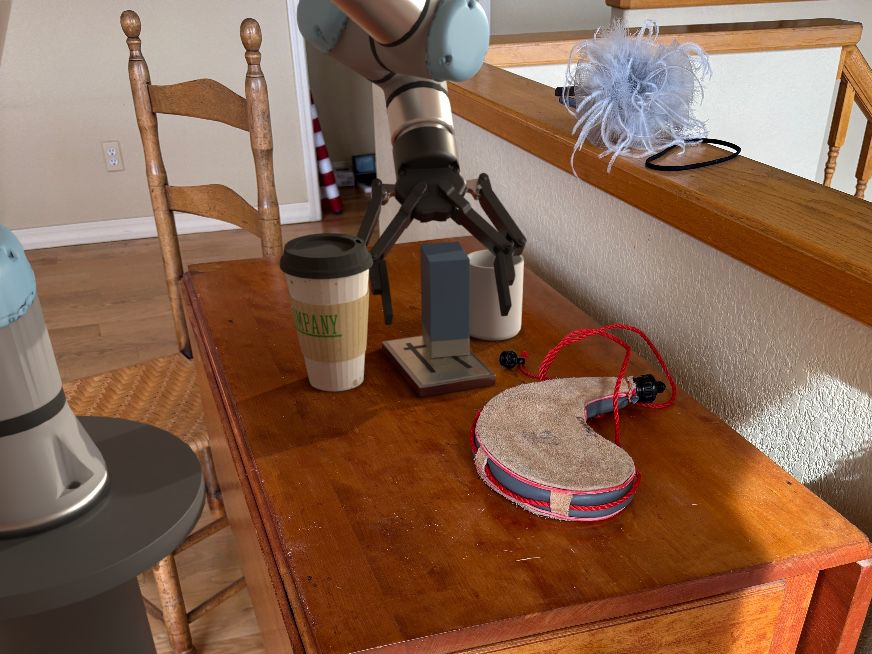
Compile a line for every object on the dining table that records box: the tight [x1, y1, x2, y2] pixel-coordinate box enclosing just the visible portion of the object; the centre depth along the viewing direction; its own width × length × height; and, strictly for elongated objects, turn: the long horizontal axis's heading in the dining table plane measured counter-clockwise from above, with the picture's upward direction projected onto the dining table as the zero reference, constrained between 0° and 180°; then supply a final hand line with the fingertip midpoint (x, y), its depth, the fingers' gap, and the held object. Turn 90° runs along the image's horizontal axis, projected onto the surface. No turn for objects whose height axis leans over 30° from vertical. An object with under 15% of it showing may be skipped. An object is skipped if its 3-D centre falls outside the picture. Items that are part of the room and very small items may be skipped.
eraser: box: [419, 241, 470, 358], centre depth 107 cm, size 4×6×11 cm
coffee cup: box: [279, 232, 373, 392], centre depth 101 cm, size 10×10×15 cm
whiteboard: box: [381, 335, 496, 398], centre depth 108 cm, size 9×14×1 cm, turn 21°
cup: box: [467, 249, 525, 341], centre depth 116 cm, size 7×10×9 cm
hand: (448, 315), depth 106 cm, fingers open, 13 cm apart
